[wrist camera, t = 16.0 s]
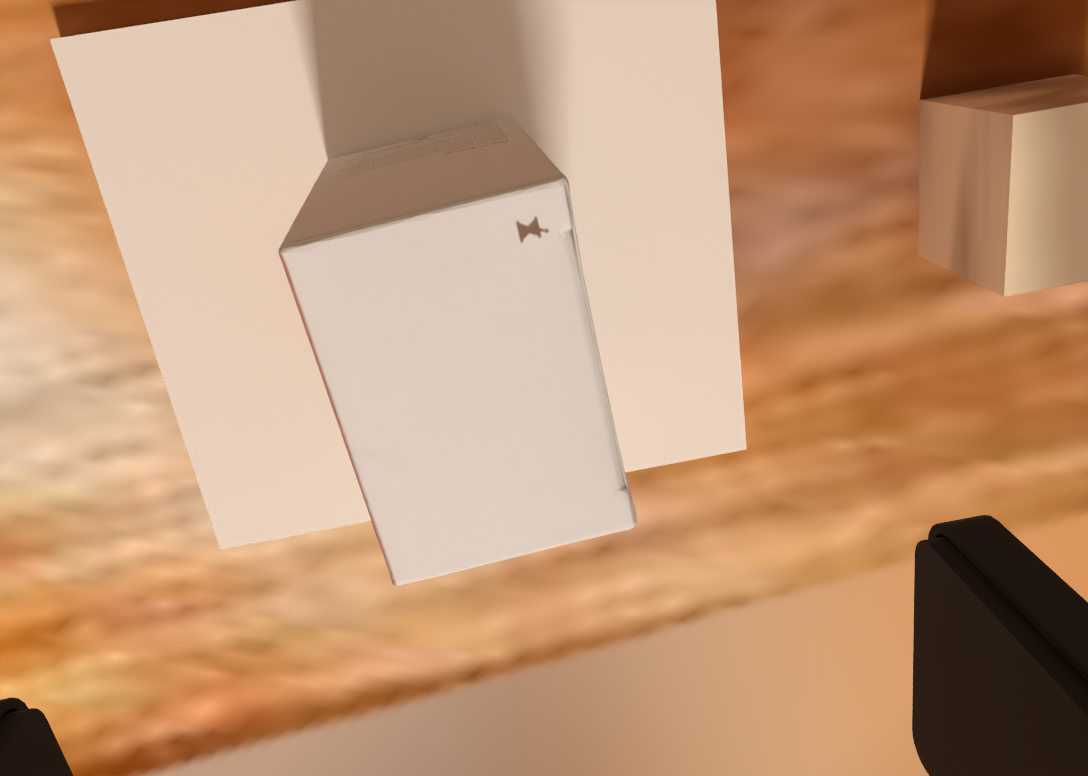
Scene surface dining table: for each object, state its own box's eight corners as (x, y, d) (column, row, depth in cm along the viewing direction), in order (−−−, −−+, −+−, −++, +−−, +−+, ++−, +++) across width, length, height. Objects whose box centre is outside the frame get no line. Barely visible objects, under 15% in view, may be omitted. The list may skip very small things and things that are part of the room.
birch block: (1071, 73, 29) (1193, 84, 24) (1059, 229, 31) (1171, 266, 26) (918, 99, 29) (1013, 115, 24) (916, 254, 30) (1004, 296, 26)
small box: (324, 156, 26) (266, 237, 16) (515, 111, 26) (568, 165, 17) (400, 406, 29) (388, 598, 20) (570, 364, 29) (642, 534, 20)
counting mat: (703, -63, 26) (711, -65, 25) (739, 439, 32) (746, 449, 31) (60, 38, 25) (49, 39, 24) (225, 536, 31) (220, 549, 30)
